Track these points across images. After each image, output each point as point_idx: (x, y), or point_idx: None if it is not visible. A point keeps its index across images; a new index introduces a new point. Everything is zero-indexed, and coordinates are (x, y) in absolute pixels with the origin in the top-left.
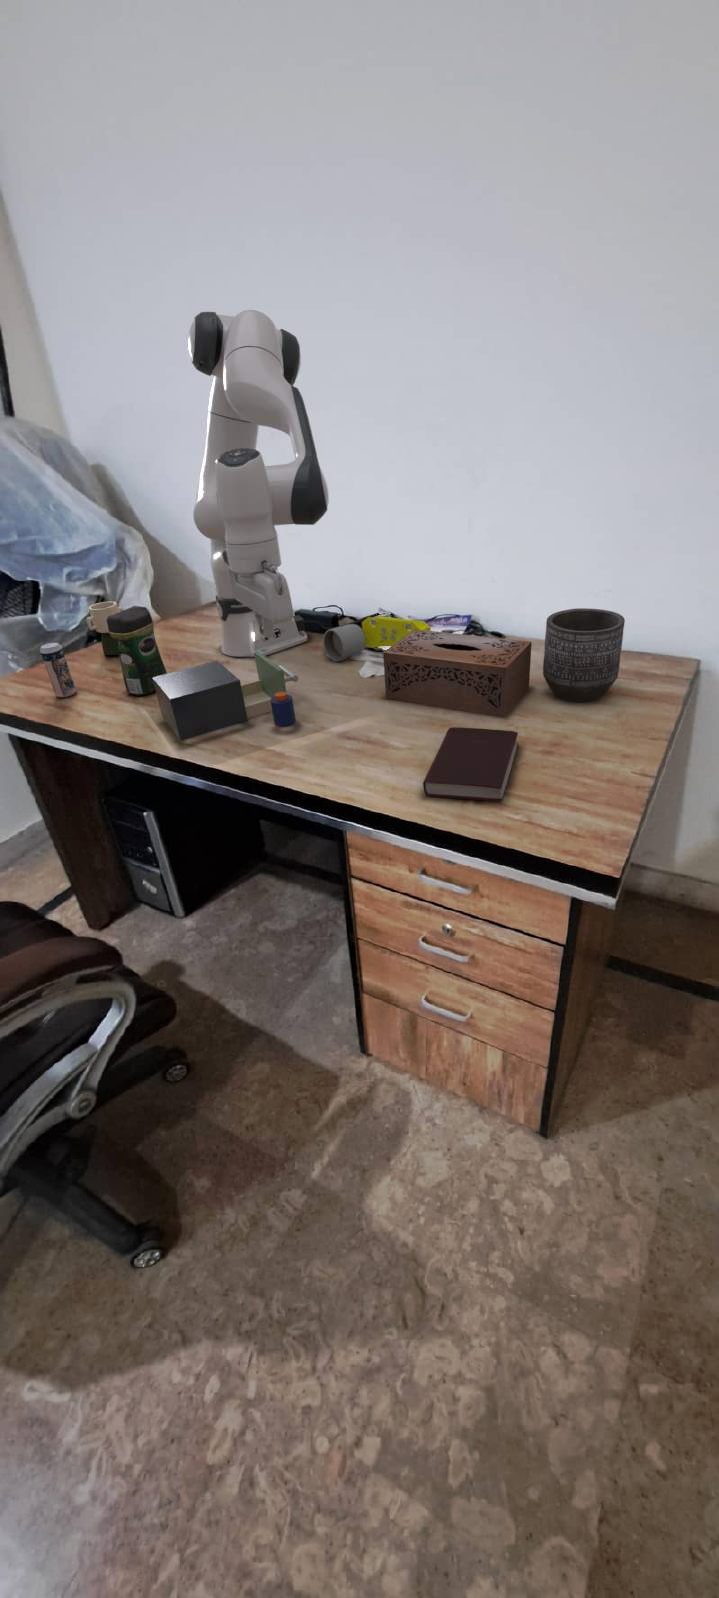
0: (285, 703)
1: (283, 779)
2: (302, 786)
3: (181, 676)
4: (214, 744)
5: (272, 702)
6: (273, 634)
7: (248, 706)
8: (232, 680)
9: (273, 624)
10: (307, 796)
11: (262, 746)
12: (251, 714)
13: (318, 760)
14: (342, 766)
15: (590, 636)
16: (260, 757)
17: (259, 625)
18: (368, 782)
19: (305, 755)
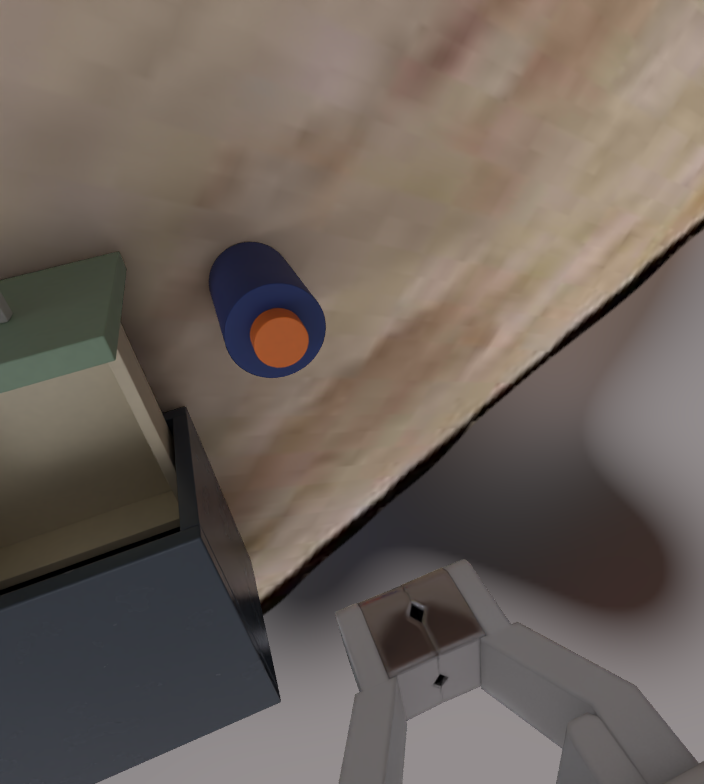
0: (324, 318)
1: (542, 328)
2: (597, 288)
3: (46, 741)
4: (267, 492)
5: (296, 370)
6: (470, 568)
7: (160, 437)
8: (188, 565)
9: (543, 639)
10: (637, 284)
11: (345, 368)
12: (157, 412)
13: (515, 218)
14: (587, 155)
15: None
16: (407, 376)
17: (404, 723)
18: (698, 108)
19: (467, 251)
